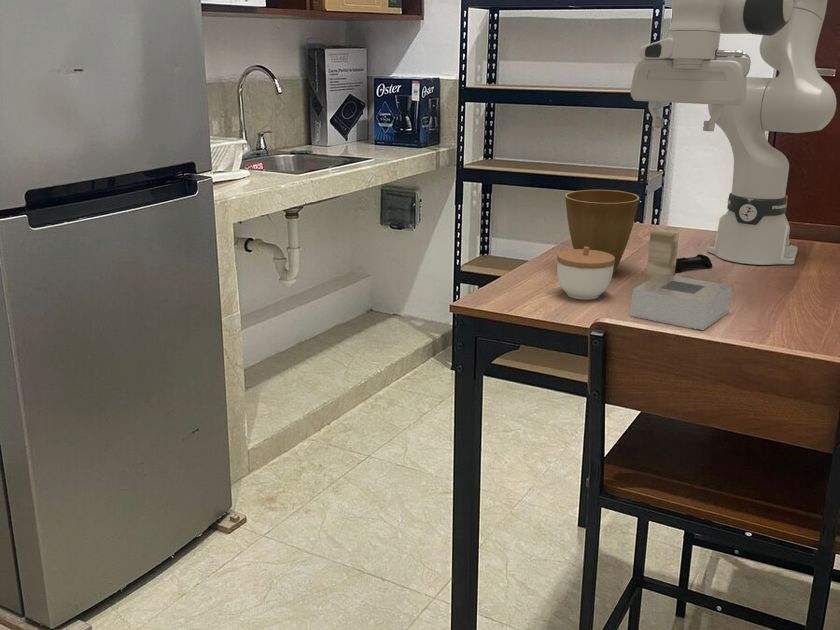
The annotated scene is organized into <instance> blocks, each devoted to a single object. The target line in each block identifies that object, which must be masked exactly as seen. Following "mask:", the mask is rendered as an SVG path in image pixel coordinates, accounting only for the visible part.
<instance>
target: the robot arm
mask: <svg viewBox="0 0 840 630" xmlns="http://www.w3.org/2000/svg"><path fill="white" fill-rule="evenodd" d="M827 5H828V0H671V5H670V6H671V12H672V18H671V22H670V25H669V27H668V33H667V38H664V39H661V40H658V41H655V42H652V43H649V44H646V45H643V46H641V47H640V49H639V52H638V53H639V58H641V60H640V61H639V62H637V64H636V65H635V67H634V70H633V71H634V72H633V75H632V80H631V85H630V96H631V98H632V100H633V101H636V102H648V106H647V107H648V111H649V113H650V115H651V118H653V119H652V123H651V124H652V128H655V129H663V128H664V122H665V118H664V117H661V116H660V113H659V111H658V109H660V108H661V103H673V104H674V103H675V104H679V103H680V104H694V105H695V104H697V105H698V104H699V105H700V104H701V105H707V109H708V114H709V116H710V118H709V119H708V120H703V127H702V131H704V132H714V131H715V129H716V128H715V126H718V127H719V128H720V129H721V131H723V133H724V134H725V136H726V138H727V140H728V142H729V144H730V148H731V150H732V154H733V174H732V185H731V192H730V193H729V194H728V198H727V207H726V209H727V212H726V213H725V214H723V215H722V216H720V218H719V221H718V226H717V230H716V236H715V241H714V245H712V246H708V247H707V253H711V254H713V255H715V256H716V257H718V258H720V259H722V260H725V261H728V262H732V263H733V262H734V263H739V264H747V265H756V266H757V265H760V266H766V265H767V266H769V265H770V266H771V265H794V264H795V261H796V257H797V254H798V246H795V245H792V244H791V243H792V241H791V240H789V239H790V230H791V227H790V224H789V221H788V219H787V216H786V213H787V206H788V199H789V197H788V195H787V194H786V193H787V192H786V191H787V186H788V185H787V184H788V178H789V170H790V163H789V159H788V157H786V155H785V154H784V153H783V152H781V151H780V150H778V149H776V148H775V147H773V146H772V145H771V144H770V143H769V141H768V139H767V136H766V133H767V131H768V132H777V133H793V134H800V133H801V134H802V133H809V132H817V131H822V130H823V129H824V128H825V127H826V126H828V124H829V123H830V122H831V121H832V119H833V118H834V116H835V113H836V110H837V97H836V93H835V91H834V89H833V88H832V86H831V85H830V84H829V83H828V82H827V81H825V80H824V78H823V77H821V75H820V73H819V72H818V69H817V65H816V60H815V58H816V52H817V51H816V50H817V46H818V41H819V37H820V35H821V32H822V28H823V23H824V20H825V18H826V17H825V16H826V12H827ZM721 34H722V35H726V34H728V35H733V34H734V35H737V34H738V35H746V34H747V35H750V34H752V35H759V36H762V37H761V40H760V44H759V53H760V57H761V58H762V60H763V61H764V62H765V64H767V65H768V66H769V67H771V68H773V69H775V70H776V71H778V72H779V74H778V76H776V77H756V76H755V77H753V76H752V77H751V76H748V74H749V72H750V69H751V63H752V62H751V57H750V56H749V54H747V53H745V52H744V51H743V50H740V49H738V50H737V49H735V50H729V49H728V50H727V49H722V50H721V49H719V47H720V40H721Z"/></svg>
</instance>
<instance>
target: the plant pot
mask: <svg viewBox="0 0 840 630" xmlns="http://www.w3.org/2000/svg"><path fill="white" fill-rule="evenodd" d="M564 196H565V197H564V198H565V208H566V209H565V210H566V216H567V223H568V231H569V235H570V240H571V244H572V249H584V247H589V250H597V251H603V252H606V253H609V254H611V255H613V256H614V257H615V263H614V268H613V274H614V273H615V272H616V271H617V268H618V266H619V264H620V262H621V260H622V258H623V255H624V252H625V251H626V249H627V245H628V242H629V241H630V240H629V239H630V236H631V234H632V229H633V226H634V223H635V218H636V216H637V211H638V206H639V201H640V196H639V195H637V194H635V193H632V192H628V191H627V192H626V191H622V190H611V189H584V190H583V189H582V190H576V191H570V192H567V193H566V194H565V195H564Z"/></svg>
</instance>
